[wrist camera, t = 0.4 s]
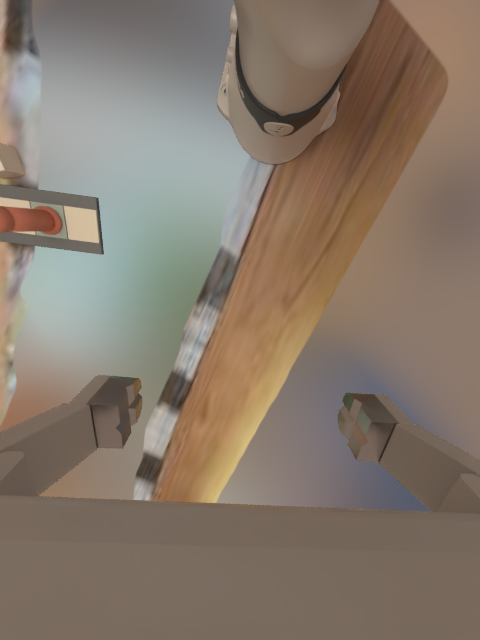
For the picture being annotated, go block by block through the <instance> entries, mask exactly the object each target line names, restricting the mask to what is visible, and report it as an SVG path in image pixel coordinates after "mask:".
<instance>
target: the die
mask: <svg viewBox="0 0 480 640" xmlns="http://www.w3.org/2000/svg"><path fill="white" fill-rule="evenodd" d="M25 175H26V173H25V171H24V168H23V166H22V164H21V161H20V159H19V156H18V154H17V152H16V149H15V148H12V147H9V146H7V145H4V144H1V143H0V178H4V179H8V178H14V177H20V176H25Z"/></svg>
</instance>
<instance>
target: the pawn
mask: <svg viewBox="0 0 480 640" xmlns="http://www.w3.org/2000/svg"><path fill="white" fill-rule="evenodd" d="M62 226H63V224H62V219H61V217H60V215H59V214H58V213H57V212H56V211H55V210H54V209H52V208H50V207H47V206H37V207H35V208H34V209H29V208H18V207H7V206H0V233H4V232H29V231H40V232H42V233H44V234H47V235H53V234H58V233H59V232H60V231H61V230H62Z"/></svg>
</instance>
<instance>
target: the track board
mask: <svg viewBox="0 0 480 640" xmlns="http://www.w3.org/2000/svg"><path fill="white" fill-rule="evenodd" d="M0 206H7V207H18V208H29V209H34V208H35V207H37V206H47V207H50V208H52V209H54V210H55V211H56V212H57V213H58V214H59V215H60V217H61V219H62V224H63V226H62V230H61V231H60V232H59V233H58V234H53V235H47V234H44V233H42V232H40V231H29V232H4V233H0V241H3V242H11V243H18V244H26V245H33V246H41V247H49V248H57V249H64V250H72V251H79V252H87V253H95V254H104V251H103V241H102V232H101V221H100V211H99V201H98V198H96V197H88V196H81V195H74V194H66V193H59V192H52V191H45V190H37V189H30V188H23V187H15V186H8V185H1V184H0Z"/></svg>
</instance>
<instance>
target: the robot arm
mask: <svg viewBox="0 0 480 640" xmlns="http://www.w3.org/2000/svg"><path fill="white" fill-rule="evenodd" d="M234 2H235V5H233V7H232V12H231V18H230V32H231V33H232V35H231V39H230V44H229V47H228V50H227V57H226V61H225V66H224V70H223V74H222V79H221V83H220V88H219V93H218V97H217V106H218V109H219V111H220V112H221V114H222V115H223V116H224V117H225V118H226V119H227V120H228V121H229V122H230V123H231V125H232V127H233V130H234V132H235V135H236V137H237V139H238V141H239V143H240V145H241V146H242V147H243V149H244V150H245V151H246V152H247V153H248V154H249V155H250V156H251V157H253V158H254V159H256V160H258V161H260V162H263V163H267V164H281V163H285V162H288V161H290V160H292V159H294V158H295V157H297V156H298V155H299V154H301V153H302V152H303V151H304V150H305V149H306V148H307V146H308V145H309V144H310V143H311V141H312V140H313V139H314V138H315V137H316V136H317V135H319V134H321V133H322V132H324V131H326V130H327V129H329V128H330V127H331V126H332V125H333V123H334V121H335V119H336V114H337V102H338V100H339V97H340V92H339V83H340V81H341V79H342V76H343V73H344V71H345V68H346V65H347V62H348V60H349V59H350V57H351V55H352V54H353V52H354V50H355V49H356V47H357V46H358V44H359V42H360V41H361V39H362V37H363V36H364V34H365V32H366V31H367V29H368V27H369V25H370V23H371V21H372V19H373V17H374V14H375V12H376V9H377V6H378V3H379V0H234ZM225 91H226V95H225V94H224V93H225ZM140 389H141V380H140V379H139V378H130V377H118V376H105V375H98V376H96V377H94V378H93V380H92V381H91V382H90V383H89V384H88V385H87V386H86V387H85V388H84V389H83V390H82V391H81V392H80V393H79V394H78V395H77V396H76V397H75V398H74V399H73V400H72V401H71V402H70V403H69V404H62V405H60V406H57V407H55V408H53V409H51V410H48V411H46V412H44V413H42V414H39V415H37V416H35V417H33V418H30V419H28V420H26V421H24V422H21V423H19V424H17V425H15V426H13V427H10V428H8V429H6V430H4V431H2V432H0V640H480V460H479V459H477V458H475V457H474V456H472V455H470V454H469V453H467V452H465V451H463V450H462V449H460V448H458V447H456V446H455V445H453V444H451V443H449V442H447V441H446V440H444V439H442V438H440V437H439V436H437V435H435V434H433V433H431V432H430V431H428V430H426V429H424V428H422V427H421V426H419V425H414V424H413V423H412V422H411V421H410V420H409V419H408V418H407V417H406V416H405V415H404V413H403V412H402V411H401V410H400V409H399V408H398V407H397V406H396V405H395V404H394V403H393V402H392V401H391V400H390V399H389V398H388V397H387V396H386V395H384V394H360V393H346V394H345V395H344V397H343V400H342V401H343V403H344V406H343V407H342V408H341V409H340V410H339V413H338V426H339V429H340V431H341V433H342V435H344V436H345V437H346V438H347V439H349V441H348V446H349V448H350V450H351V451H352V453H353V455H354V457H355V459H356V460H357V461H370V462H379V464H380V465H381V466H383V467H384V468H385V469H386V470H387V471H388V472H389V473H390V474H391V475H392V476H393V477H394V478H396V479H397V480H398V481H399V482H400V483H401V484H402V485H403V486H404V487H405V488H406V489H408V490H409V491H410V492H411V493H412V494H413V495H414V496H415V497H416V498H417V499H418V500H419V501H421V502H422V503H423V504H424V505H425V506H426V507H427V508H428V509H429V510H430V511H431V512H425V511H400V510H374V509H348V508H321V507H296V506H295V507H294V506H271V505H246V504H245V505H244V504H221V503H195V502H170V501H144V500H119V499H92V498H68V497H42V496H39V495H40V494H41V493H43V492H44V491H45V490H46V489H48V488H49V487H50V486H51V485H53V484H54V483H55V482H56V481H58V480H59V479H60V478H61V477H63V476H64V475H65V474H67V473H68V472H69V471H70V470H72V469H73V468H74V467H75V466H77V465H78V464H79V463H80V462H81V461H83V460H84V459H85V458H87V457H88V456H89V455H90V454H92V453H93V452H94V451H95V450H97V448H123V447H124V445H125V443H126V441H127V440H128V437H129V436H130V434H131V426H132V425H134V424H135V423H136V422H137V420H138V418H139V416H140V413H141V409H142V396H141V395H140V394H139V391H140Z"/></svg>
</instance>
